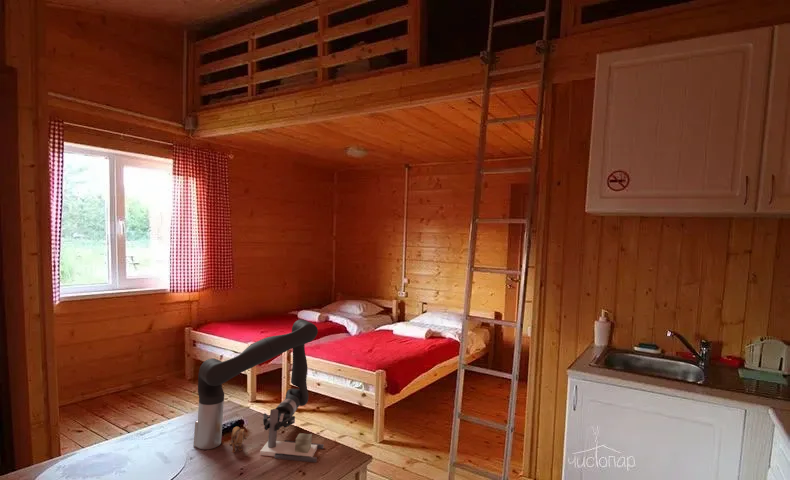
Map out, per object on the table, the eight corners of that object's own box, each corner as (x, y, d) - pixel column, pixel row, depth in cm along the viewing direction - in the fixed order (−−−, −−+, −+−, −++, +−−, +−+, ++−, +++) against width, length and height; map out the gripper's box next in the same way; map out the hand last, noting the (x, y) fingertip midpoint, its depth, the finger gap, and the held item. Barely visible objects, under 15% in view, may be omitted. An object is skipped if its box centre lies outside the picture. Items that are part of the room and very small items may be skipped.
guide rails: (274, 458, 158) (274, 454, 158) (284, 444, 169) (284, 440, 169) (316, 463, 157) (316, 458, 157) (323, 448, 168) (323, 444, 168)
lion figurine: (248, 453, 160) (250, 430, 160) (234, 457, 157) (235, 433, 157) (237, 437, 172) (239, 416, 172) (224, 440, 169) (225, 418, 169)
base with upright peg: (259, 454, 159) (262, 414, 160) (268, 443, 168) (271, 405, 169) (311, 460, 158) (313, 419, 158) (317, 448, 167) (319, 409, 167)
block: (294, 451, 161) (295, 438, 161) (298, 445, 166) (299, 433, 166) (307, 453, 160) (308, 439, 160) (311, 446, 165) (311, 434, 165)
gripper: (269, 400, 179) (253, 416, 161) (302, 403, 178) (289, 420, 160) (268, 418, 179) (252, 436, 161) (300, 421, 178) (287, 439, 160)
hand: (270, 428), depth 161 cm, fingers closed on base with upright peg, 3 cm apart
